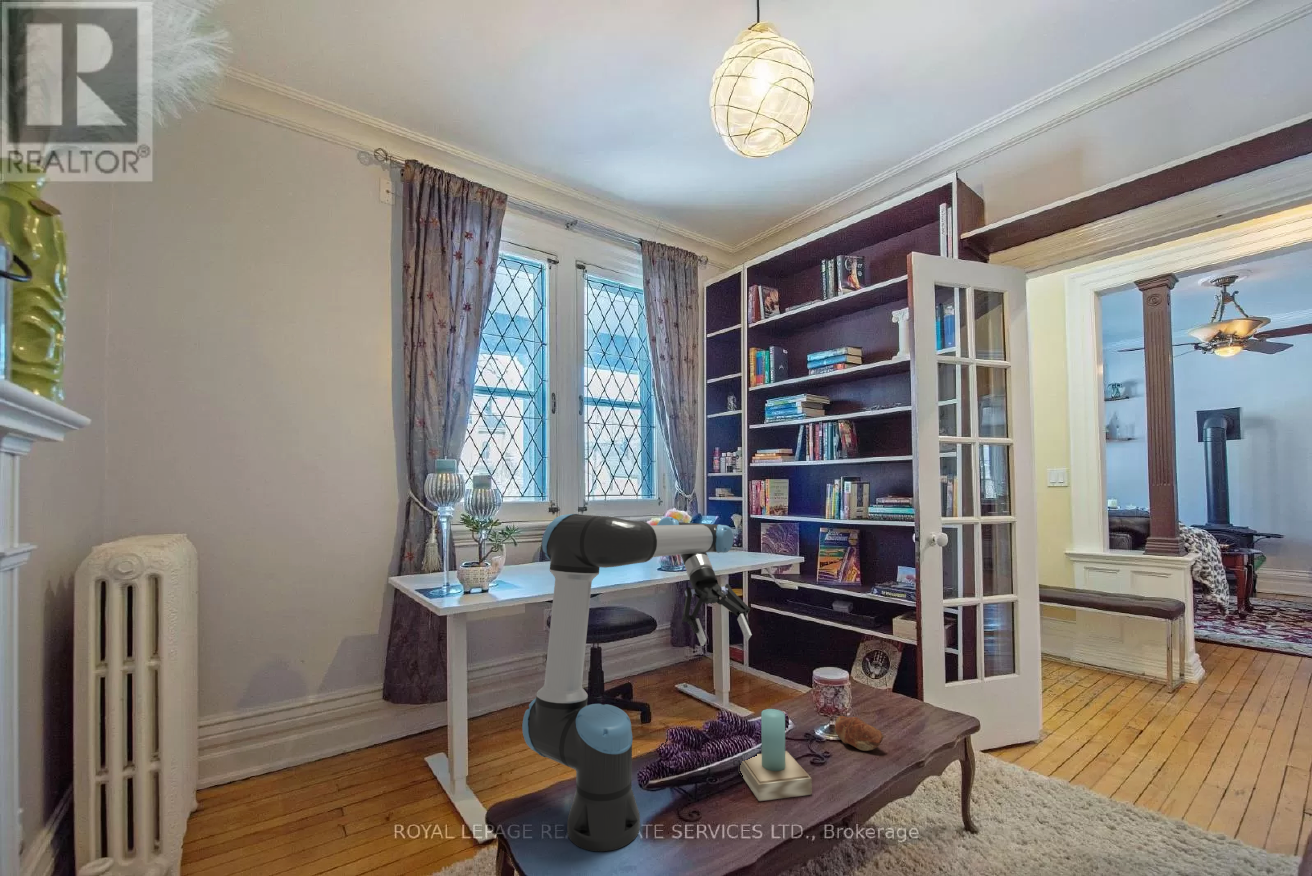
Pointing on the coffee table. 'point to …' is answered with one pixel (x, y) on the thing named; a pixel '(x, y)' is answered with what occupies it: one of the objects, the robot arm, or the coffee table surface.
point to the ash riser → (776, 779)
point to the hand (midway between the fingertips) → (726, 640)
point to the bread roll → (858, 733)
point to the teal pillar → (773, 739)
